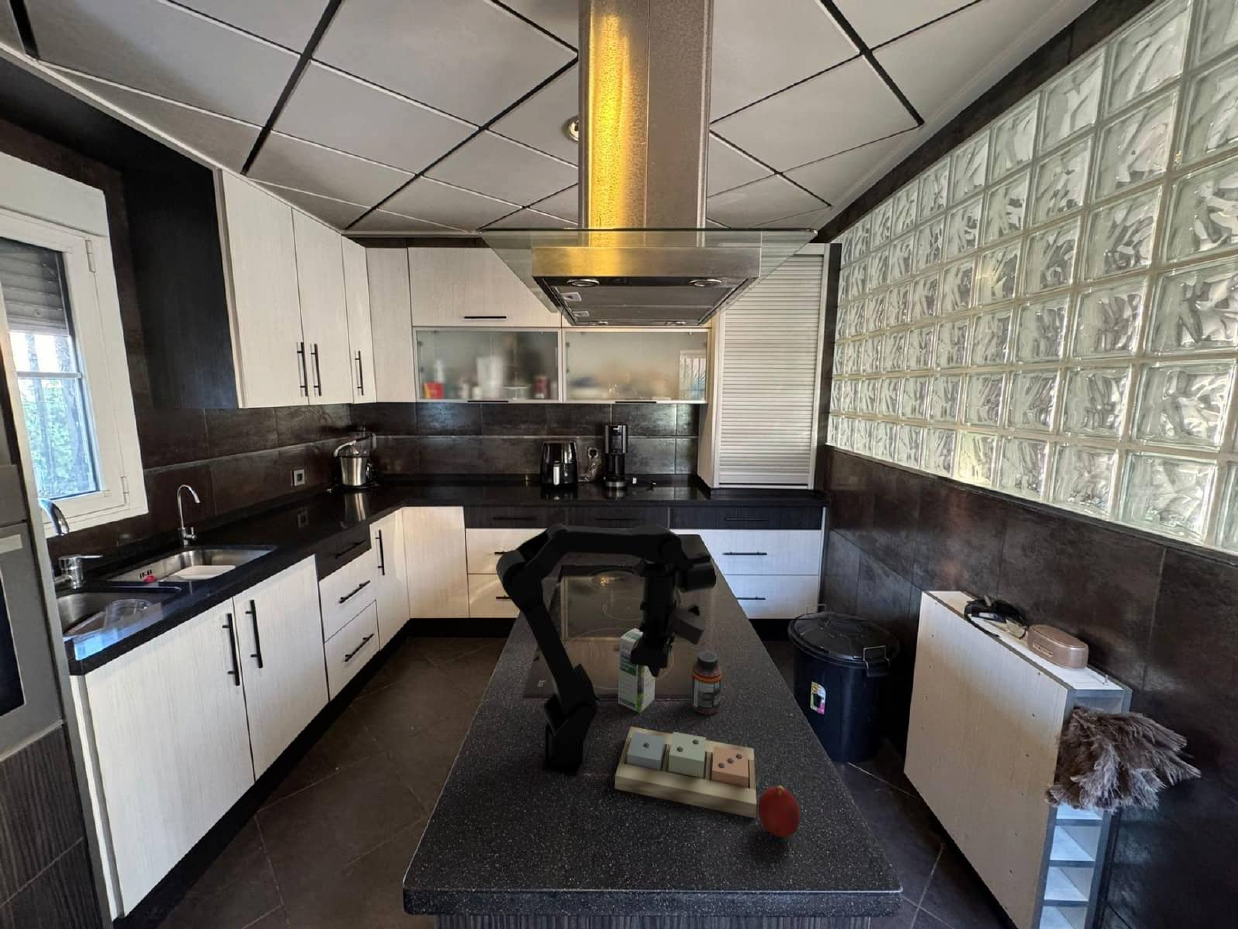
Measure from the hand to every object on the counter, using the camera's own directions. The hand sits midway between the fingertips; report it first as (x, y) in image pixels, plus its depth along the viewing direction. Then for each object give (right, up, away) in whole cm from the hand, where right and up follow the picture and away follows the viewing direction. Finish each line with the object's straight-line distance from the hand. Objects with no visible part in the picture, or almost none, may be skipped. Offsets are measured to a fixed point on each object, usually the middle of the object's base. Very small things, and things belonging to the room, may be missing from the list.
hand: (655, 676), depth 90 cm
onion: (+17, -16, -18) cm, 29 cm away
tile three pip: (+12, -13, -9) cm, 19 cm away
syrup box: (-3, -11, +12) cm, 16 cm away
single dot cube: (-2, -12, -6) cm, 14 cm away
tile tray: (+5, -13, -7) cm, 16 cm away
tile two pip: (+5, -11, -8) cm, 14 cm away
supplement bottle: (+11, -11, +10) cm, 19 cm away
